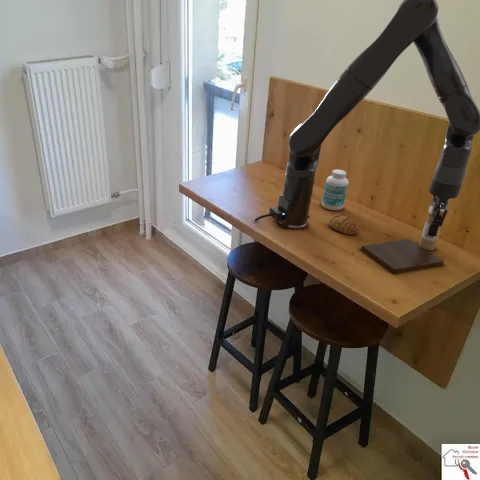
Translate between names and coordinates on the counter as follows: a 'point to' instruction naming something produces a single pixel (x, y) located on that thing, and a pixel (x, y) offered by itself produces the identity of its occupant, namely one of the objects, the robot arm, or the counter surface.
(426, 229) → the sprinkles bottle
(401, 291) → the counter surface
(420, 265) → the walnut board
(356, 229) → the pastry
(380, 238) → the counter surface
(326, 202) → the pill bottle
